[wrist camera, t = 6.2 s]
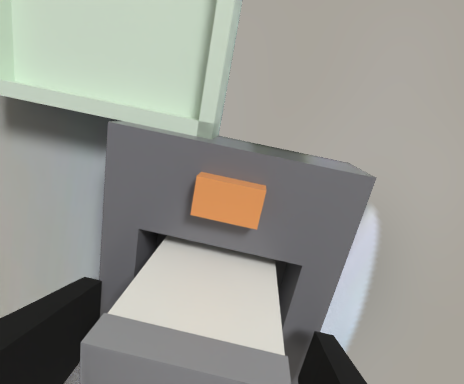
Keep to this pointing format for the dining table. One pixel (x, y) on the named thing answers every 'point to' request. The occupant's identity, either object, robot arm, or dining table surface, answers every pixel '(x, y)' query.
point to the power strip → (232, 214)
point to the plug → (191, 322)
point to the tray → (122, 58)
